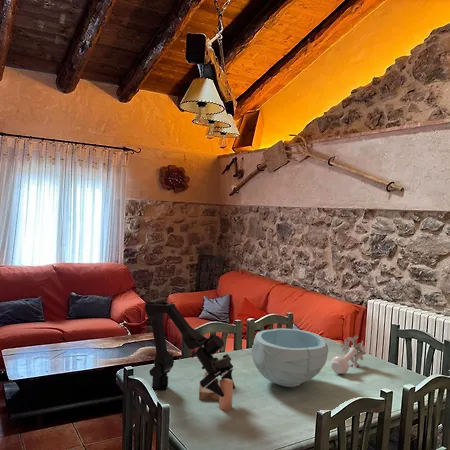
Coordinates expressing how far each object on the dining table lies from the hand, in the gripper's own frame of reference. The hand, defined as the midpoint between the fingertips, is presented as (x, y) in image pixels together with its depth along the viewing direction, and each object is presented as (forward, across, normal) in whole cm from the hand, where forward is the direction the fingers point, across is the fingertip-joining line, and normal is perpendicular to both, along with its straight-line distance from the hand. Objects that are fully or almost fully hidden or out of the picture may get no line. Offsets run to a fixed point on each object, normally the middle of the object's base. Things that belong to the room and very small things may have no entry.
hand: (229, 392), depth 178 cm
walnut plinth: (-4, +8, +14) cm, 16 cm away
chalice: (-13, +25, +23) cm, 36 cm away
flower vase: (+26, +75, -17) cm, 82 cm away
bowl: (+13, +38, -3) cm, 41 cm away
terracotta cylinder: (+4, 0, +6) cm, 7 cm away
